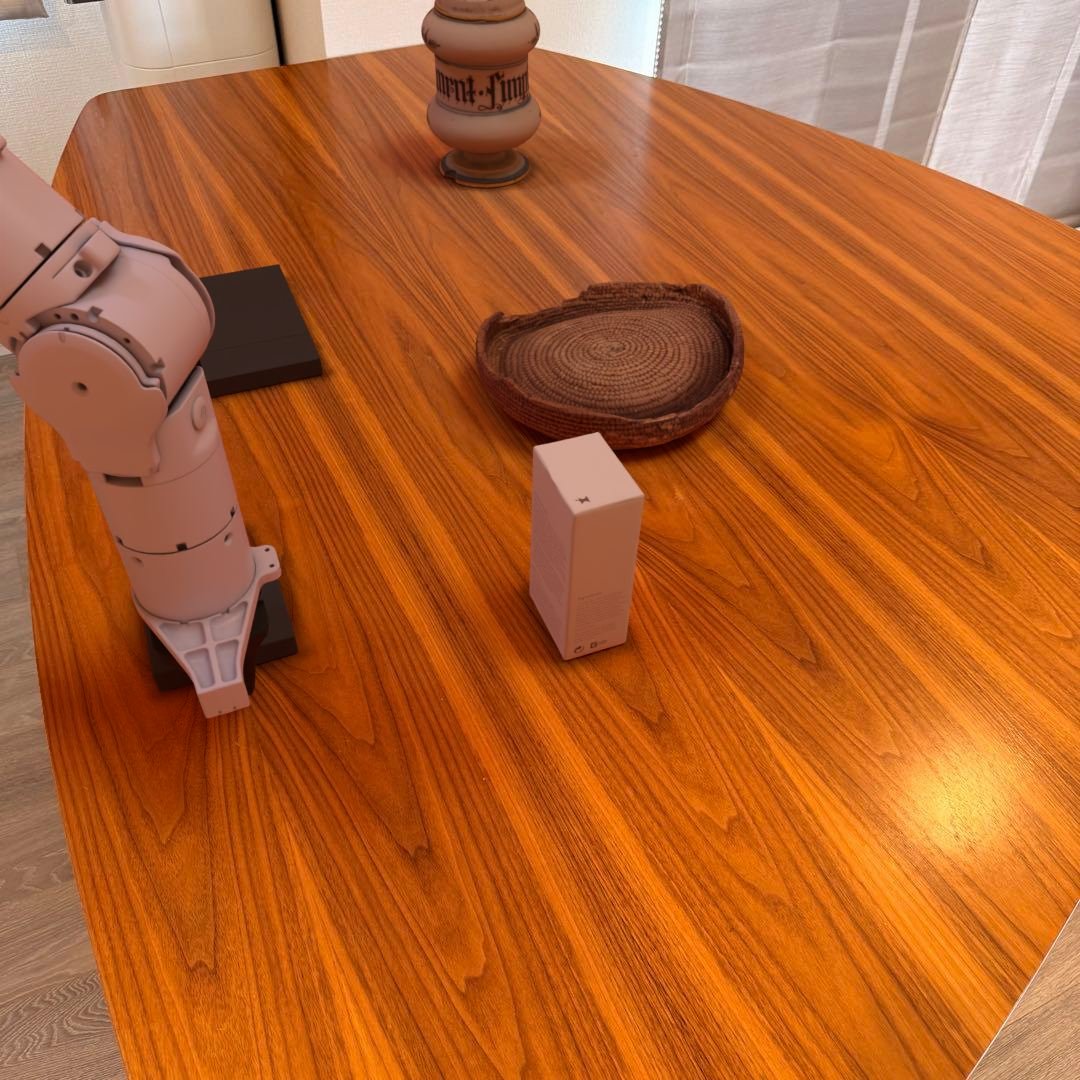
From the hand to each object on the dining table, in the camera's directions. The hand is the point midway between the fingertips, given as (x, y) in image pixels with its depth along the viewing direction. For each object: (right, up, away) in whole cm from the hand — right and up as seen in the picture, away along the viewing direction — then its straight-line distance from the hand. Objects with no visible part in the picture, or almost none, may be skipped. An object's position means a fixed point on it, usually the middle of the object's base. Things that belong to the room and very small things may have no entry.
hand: (233, 690), depth 54 cm
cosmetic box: (+19, +3, +6) cm, 21 cm away
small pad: (-3, +4, +6) cm, 8 cm away
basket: (+23, +21, +24) cm, 40 cm away
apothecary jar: (+11, +49, +52) cm, 72 cm away
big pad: (-11, +25, +27) cm, 38 cm away
